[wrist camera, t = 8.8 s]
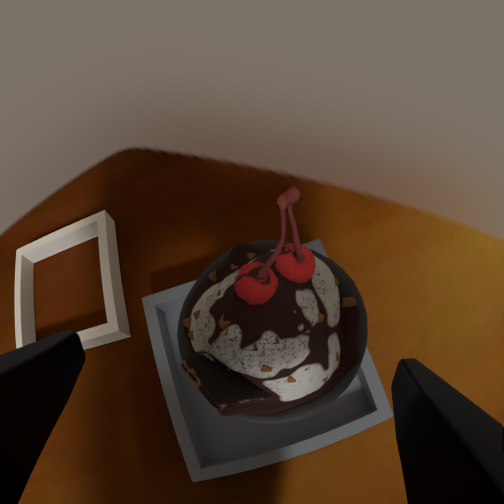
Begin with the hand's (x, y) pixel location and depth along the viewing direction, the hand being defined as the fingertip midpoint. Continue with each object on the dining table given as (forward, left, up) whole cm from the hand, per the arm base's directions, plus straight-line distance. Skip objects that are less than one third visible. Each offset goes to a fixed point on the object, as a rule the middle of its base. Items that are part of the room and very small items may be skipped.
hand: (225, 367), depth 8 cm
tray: (+1, -1, -13) cm, 14 cm away
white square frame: (+11, +13, -13) cm, 22 cm away
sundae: (+1, -2, -13) cm, 13 cm away
